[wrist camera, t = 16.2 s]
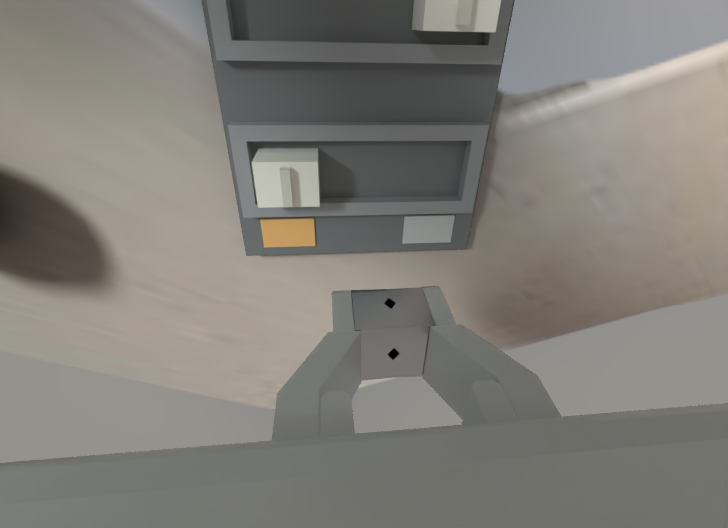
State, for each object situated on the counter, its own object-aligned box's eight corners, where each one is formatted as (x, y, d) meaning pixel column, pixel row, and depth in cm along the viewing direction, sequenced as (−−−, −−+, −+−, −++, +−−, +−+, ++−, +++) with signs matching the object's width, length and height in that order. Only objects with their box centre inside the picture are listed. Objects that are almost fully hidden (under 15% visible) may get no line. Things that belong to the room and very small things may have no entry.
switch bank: (175, -186, 18) (158, -211, 16) (536, -162, 20) (558, -180, 18) (248, 248, 31) (244, 262, 29) (461, 242, 33) (470, 255, 31)
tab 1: (258, 148, 25) (249, 165, 22) (318, 148, 26) (317, 164, 23) (264, 190, 27) (256, 211, 24) (319, 189, 27) (319, 210, 24)
